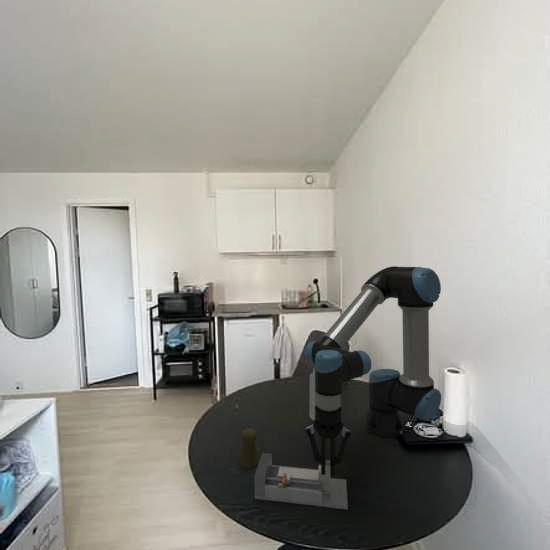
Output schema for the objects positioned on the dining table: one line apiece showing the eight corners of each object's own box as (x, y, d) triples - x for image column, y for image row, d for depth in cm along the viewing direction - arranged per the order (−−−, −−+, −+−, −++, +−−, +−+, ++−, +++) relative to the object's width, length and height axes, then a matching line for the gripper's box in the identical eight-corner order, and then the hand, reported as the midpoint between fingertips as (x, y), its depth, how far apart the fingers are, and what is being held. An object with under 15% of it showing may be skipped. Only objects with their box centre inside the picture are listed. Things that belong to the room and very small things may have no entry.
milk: (309, 417, 146) (309, 366, 144) (321, 414, 148) (321, 364, 147) (317, 423, 140) (317, 371, 139) (329, 420, 143) (329, 368, 142)
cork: (244, 470, 111) (244, 437, 110) (237, 460, 116) (237, 428, 115) (261, 464, 114) (261, 432, 113) (253, 455, 119) (253, 424, 118)
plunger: (325, 480, 104) (325, 465, 103) (325, 497, 96) (325, 481, 96) (279, 476, 106) (279, 461, 106) (275, 492, 99) (275, 476, 98)
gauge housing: (346, 482, 104) (346, 460, 104) (347, 509, 94) (347, 485, 93) (262, 474, 109) (262, 452, 108) (254, 498, 98) (254, 475, 97)
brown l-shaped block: (286, 490, 99) (286, 473, 99) (284, 500, 95) (284, 482, 95) (278, 489, 100) (278, 472, 99) (276, 499, 96) (276, 481, 95)
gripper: (350, 401, 101) (350, 478, 102) (306, 398, 103) (306, 474, 104) (352, 413, 93) (351, 496, 95) (304, 409, 95) (304, 491, 97)
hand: (327, 484), depth 100 cm, fingers closed
